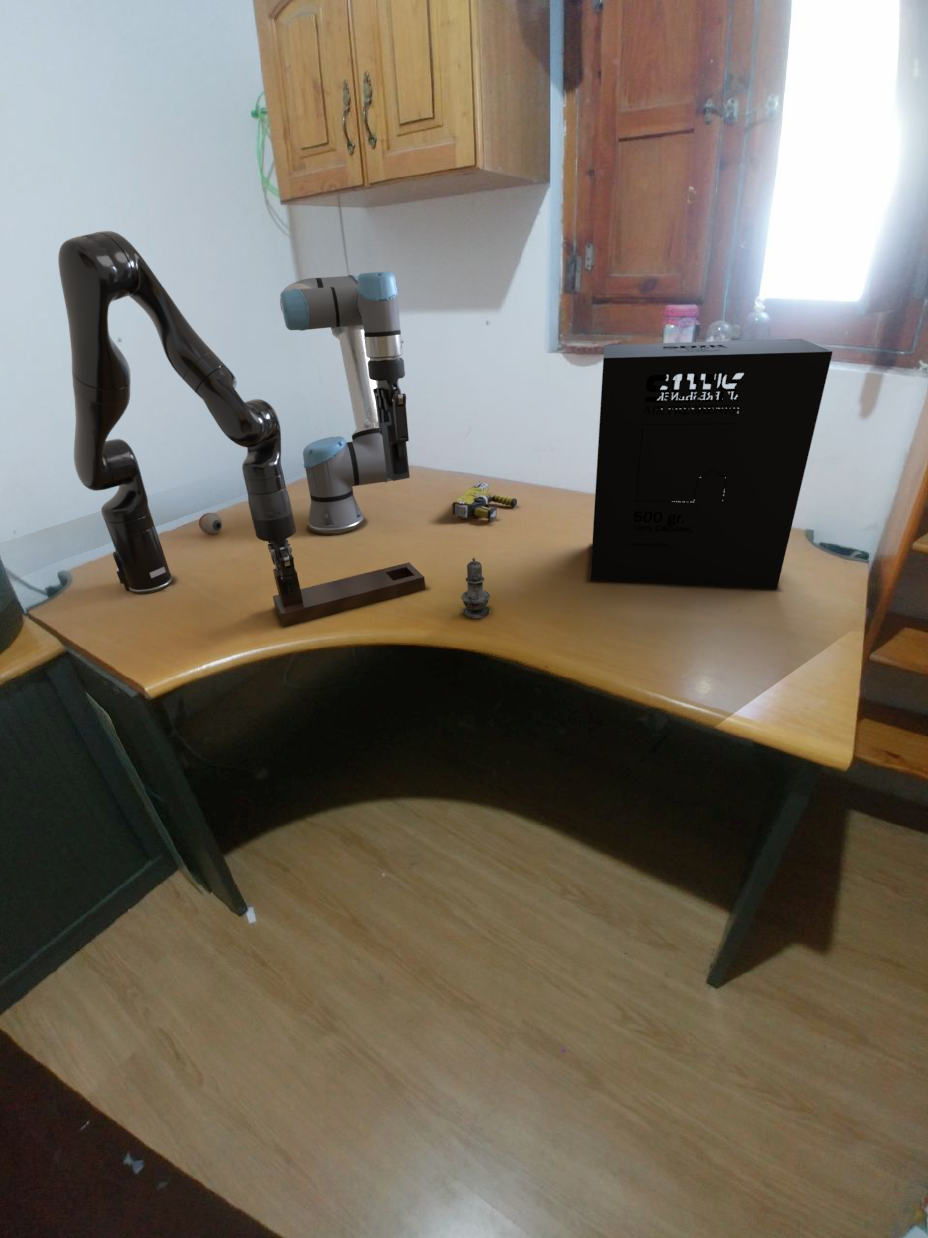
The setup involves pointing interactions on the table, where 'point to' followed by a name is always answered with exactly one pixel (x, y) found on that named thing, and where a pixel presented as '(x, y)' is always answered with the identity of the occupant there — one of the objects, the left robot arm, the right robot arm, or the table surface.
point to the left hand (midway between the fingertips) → (289, 591)
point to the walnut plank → (345, 593)
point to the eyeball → (210, 523)
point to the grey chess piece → (475, 592)
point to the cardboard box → (703, 460)
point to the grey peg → (391, 454)
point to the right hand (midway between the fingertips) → (397, 470)
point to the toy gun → (479, 503)
